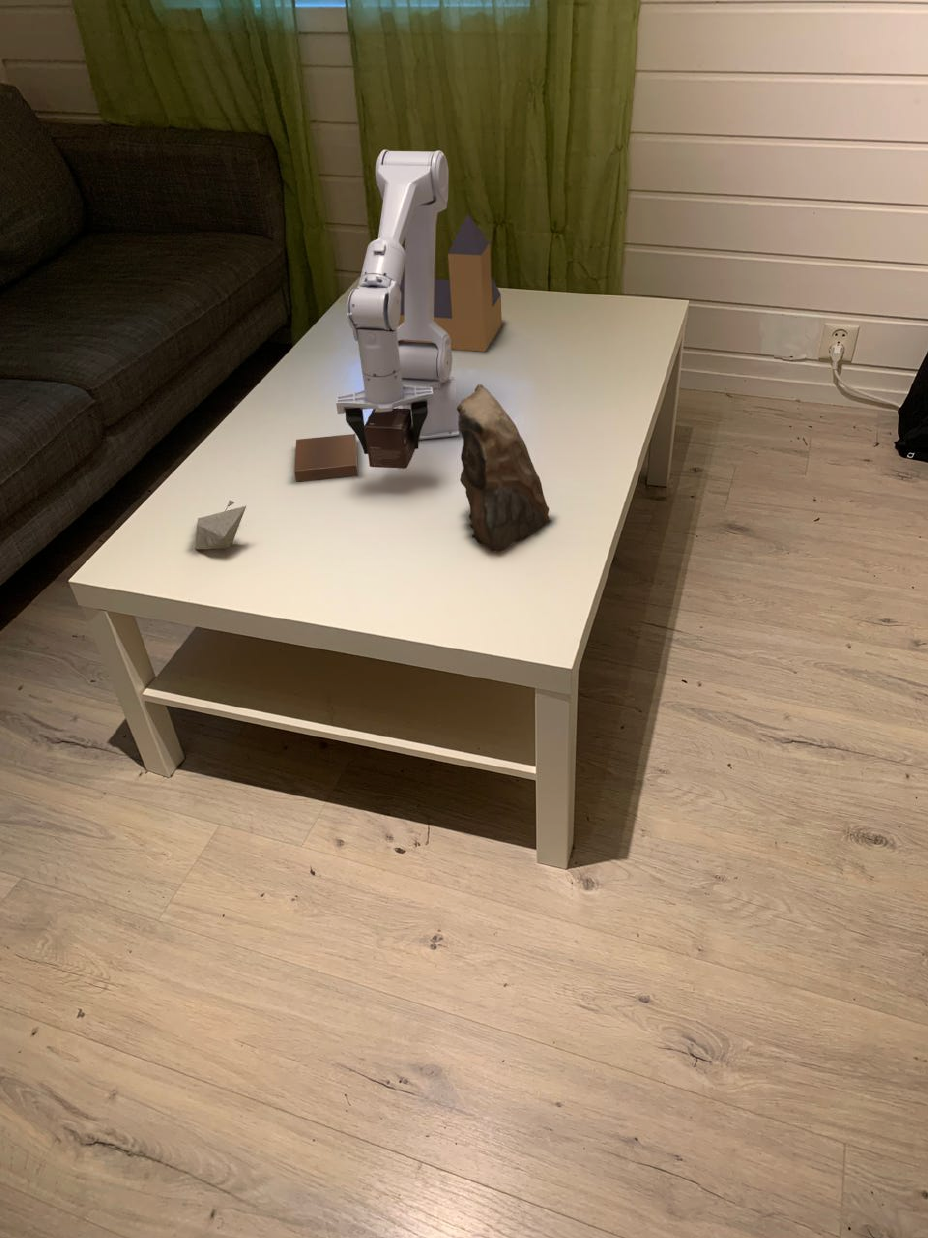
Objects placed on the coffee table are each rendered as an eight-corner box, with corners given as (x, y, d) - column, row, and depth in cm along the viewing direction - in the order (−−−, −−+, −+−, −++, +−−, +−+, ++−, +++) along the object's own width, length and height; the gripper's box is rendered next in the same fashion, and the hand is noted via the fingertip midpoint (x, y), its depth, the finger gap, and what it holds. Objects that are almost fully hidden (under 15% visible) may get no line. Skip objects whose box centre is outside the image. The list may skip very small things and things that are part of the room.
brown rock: (493, 559, 144) (487, 436, 131) (434, 524, 151) (424, 405, 138) (553, 521, 150) (554, 401, 137) (494, 489, 157) (489, 372, 144)
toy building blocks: (485, 351, 194) (479, 220, 178) (393, 344, 198) (380, 215, 182) (501, 324, 203) (497, 196, 187) (413, 317, 207) (402, 192, 191)
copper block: (356, 443, 170) (355, 433, 169) (357, 475, 163) (356, 465, 162) (297, 449, 170) (295, 439, 169) (296, 481, 162) (294, 471, 161)
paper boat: (167, 544, 149) (191, 498, 154) (200, 569, 153) (223, 523, 157) (213, 525, 141) (237, 476, 146) (247, 551, 145) (270, 503, 150)
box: (406, 470, 154) (401, 428, 149) (368, 468, 155) (363, 426, 150) (415, 449, 159) (411, 408, 154) (379, 447, 160) (373, 406, 155)
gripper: (331, 385, 143) (344, 466, 152) (432, 375, 144) (439, 456, 153) (331, 362, 149) (344, 442, 158) (429, 353, 149) (435, 433, 158)
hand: (390, 448), depth 156 cm, fingers closed on box, 7 cm apart
